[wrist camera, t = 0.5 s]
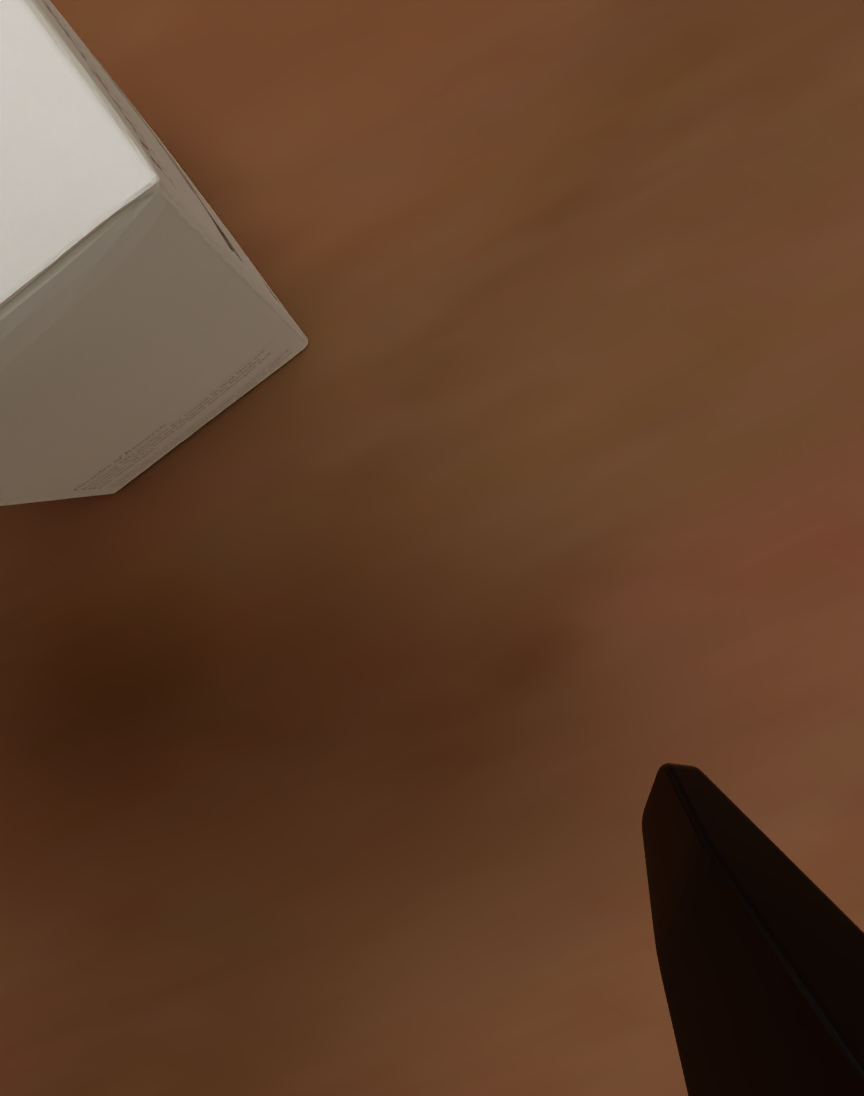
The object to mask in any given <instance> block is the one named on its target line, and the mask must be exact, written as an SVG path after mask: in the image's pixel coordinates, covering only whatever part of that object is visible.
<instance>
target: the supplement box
mask: <svg viewBox="0 0 864 1096" xmlns="http://www.w3.org/2000/svg"><path fill="white" fill-rule="evenodd" d="M307 345H308V339H307V337H306V336H305V335H304V333H303V332H302V331H301V329H300V328H299V327H298V325H297V324H296V323H295V321H294V320H293V319H292V317H291V316H290V315H289V313H288V312H287V310H286V309H285V308H284V306H283V305H282V304H281V302H280V301H279V300H278V298H277V297H276V295H275V294H274V293H273V291H272V290H271V289H270V287H269V286H268V284H267V283H266V282H265V280H264V279H263V278H262V276H261V275H260V273H259V272H258V271H257V269H256V268H255V267H254V265H253V264H252V262H251V261H250V260H249V258H248V257H247V256H246V254H245V253H244V251H243V250H242V249H241V247H240V246H239V245H238V243H237V242H236V240H235V239H234V238H233V236H232V235H231V234H230V232H229V231H228V230H227V228H226V227H225V226H224V224H223V223H222V222H221V220H220V219H219V218H218V216H217V215H216V214H215V212H214V211H213V210H212V208H211V207H210V206H209V204H208V203H207V202H206V200H205V199H204V198H203V196H202V195H201V194H200V192H199V191H198V190H197V188H196V187H195V186H194V184H193V183H192V182H191V180H190V179H189V178H188V176H187V175H186V174H185V172H184V171H183V170H182V168H181V167H180V166H179V164H178V163H177V162H176V160H175V159H174V158H173V156H172V155H171V154H170V152H169V151H168V150H167V148H166V147H165V146H164V144H163V143H162V142H161V140H160V139H159V138H158V136H157V135H156V134H155V133H154V131H153V130H152V129H151V128H150V126H149V125H148V124H147V122H146V121H145V120H144V119H143V117H142V116H141V115H140V114H139V112H138V111H137V110H136V109H135V107H134V106H133V105H132V103H131V102H130V101H129V100H128V98H127V97H126V96H125V95H124V93H123V92H122V91H121V90H120V88H119V87H118V86H117V84H116V83H115V82H114V81H113V79H112V78H111V77H110V76H109V74H108V73H107V72H106V71H105V69H104V68H103V67H102V65H101V64H100V63H99V62H98V60H97V59H96V58H95V57H94V55H93V54H92V53H91V52H90V50H89V49H88V48H87V47H86V45H85V44H84V43H83V42H82V40H81V39H80V38H79V36H78V35H77V34H76V33H75V31H74V30H73V29H72V28H71V26H70V25H69V24H68V23H67V21H66V20H65V19H64V18H63V16H62V15H61V14H60V13H59V11H58V10H57V9H56V8H55V6H54V5H53V4H52V3H51V1H50V0H0V506H6V505H15V504H24V503H33V502H42V501H51V500H61V499H68V498H78V497H88V496H97V495H106V494H114V493H116V492H117V491H118V490H120V489H121V488H122V487H124V486H125V485H126V484H128V483H129V482H130V481H132V480H133V479H134V478H135V477H137V476H138V475H139V474H141V473H142V472H144V471H145V470H146V469H148V468H149V467H150V466H151V465H153V464H154V463H155V462H157V461H158V460H159V459H160V458H162V457H163V456H164V455H165V454H167V453H168V452H170V451H171V450H172V449H173V448H174V447H176V446H177V445H179V444H180V443H181V442H183V441H184V440H186V439H187V438H188V437H190V436H191V435H192V434H193V433H195V432H196V431H197V430H198V429H200V428H201V427H202V426H203V425H205V424H206V423H207V422H209V421H210V420H211V419H213V418H214V417H215V416H217V415H218V414H219V413H221V412H222V411H223V410H224V409H226V408H227V407H228V406H230V405H231V404H232V403H234V402H235V401H236V400H238V399H239V398H240V397H242V396H243V395H244V394H246V393H247V392H248V391H250V390H251V389H252V388H254V387H255V386H256V385H258V384H259V383H260V382H262V381H263V380H264V379H266V378H267V377H268V376H269V375H271V374H272V373H273V372H275V371H276V370H277V369H279V368H280V367H281V366H283V365H284V364H285V363H287V362H288V361H289V360H290V359H292V358H293V357H294V356H295V355H297V354H298V353H299V352H301V351H302V350H303V349H304V348H305V347H306V346H307Z"/></svg>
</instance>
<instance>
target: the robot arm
mask: <svg viewBox="0 0 864 1096" xmlns="http://www.w3.org/2000/svg"><path fill="white" fill-rule="evenodd" d="M642 833H643V842H644V850H645V859H646V868H647V877H648V885H649V894H650V903H651V911H652V920H653V929H654V937H655V944H656V951H657V957H658V962H659V967H660V972H661V976H662V981H663V985H664V990H665V994H666V999H667V1003H668V1007H669V1012H670V1016H671V1021H672V1025H673V1030H674V1034H675V1038H676V1043H677V1047H678V1052H679V1056H680V1060H681V1065H682V1069H683V1074H684V1078H685V1083H686V1087H687V1091H688V1096H864V933H863V932H862V931H861V930H860V929H859V928H858V927H857V926H856V925H855V924H854V923H853V922H852V921H851V920H850V919H849V918H848V917H847V916H846V915H845V914H844V913H843V912H842V911H841V910H840V909H839V908H838V907H837V906H836V905H835V904H834V903H833V902H832V901H831V900H830V899H829V898H828V897H827V896H826V895H825V894H824V893H823V892H822V891H821V890H820V889H819V888H818V887H817V886H816V885H815V884H814V883H813V882H812V881H811V880H810V879H809V878H808V877H807V876H806V875H805V874H804V873H803V872H802V871H801V870H800V869H799V868H798V867H797V866H796V865H795V864H794V863H793V862H792V861H791V860H790V859H789V858H788V857H787V856H786V855H785V854H784V853H783V852H782V851H781V850H780V849H779V848H778V847H777V846H776V845H775V844H774V843H773V842H772V841H771V840H770V839H769V838H768V837H767V836H766V835H765V834H764V833H763V832H762V831H761V830H760V829H759V828H758V827H757V826H756V825H755V824H754V823H753V822H752V821H751V820H750V819H749V818H748V817H747V816H746V815H745V814H744V813H743V812H742V811H741V810H740V809H739V808H738V807H737V806H736V805H735V804H734V803H733V802H732V801H731V800H730V799H729V798H728V797H727V796H726V795H725V794H724V793H723V792H722V791H721V790H720V789H719V788H718V787H717V786H716V785H715V784H714V783H713V782H712V781H711V780H710V779H709V778H708V777H707V776H706V775H705V774H704V773H703V772H702V771H701V770H699V769H698V768H696V767H694V766H688V765H680V764H672V763H666V764H664V765H662V766H661V767H660V769H659V770H658V772H657V775H656V778H655V781H654V783H653V786H652V789H651V792H650V795H649V797H648V800H647V803H646V806H645V808H644V812H643V818H642Z"/></svg>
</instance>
